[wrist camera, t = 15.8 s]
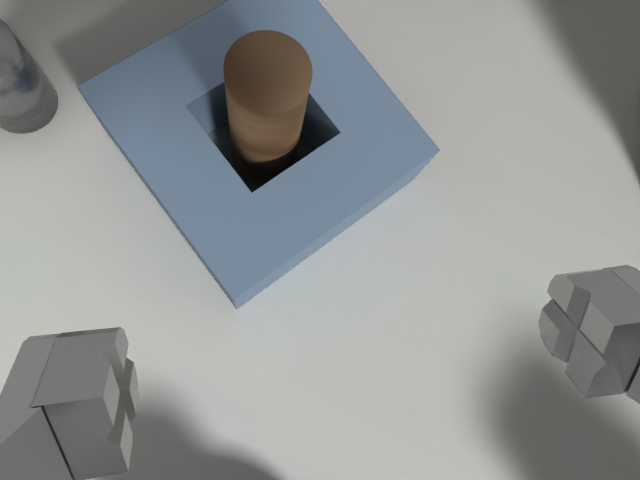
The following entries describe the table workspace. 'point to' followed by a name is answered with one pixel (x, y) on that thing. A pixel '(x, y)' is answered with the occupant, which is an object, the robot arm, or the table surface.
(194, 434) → the table surface
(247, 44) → the long pin
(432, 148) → the collar block
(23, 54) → the short pin
